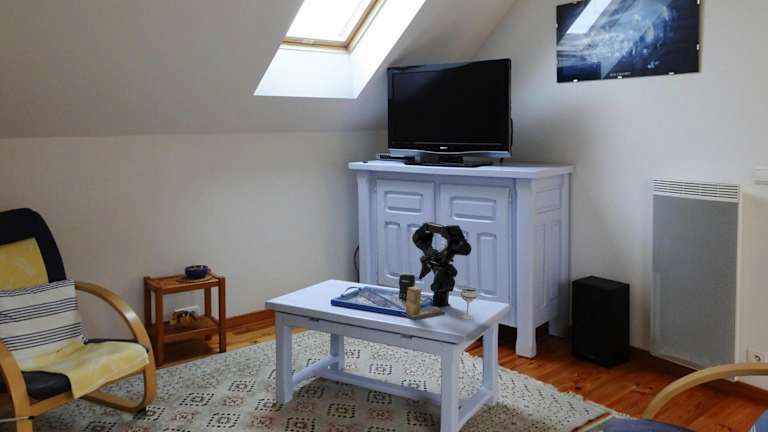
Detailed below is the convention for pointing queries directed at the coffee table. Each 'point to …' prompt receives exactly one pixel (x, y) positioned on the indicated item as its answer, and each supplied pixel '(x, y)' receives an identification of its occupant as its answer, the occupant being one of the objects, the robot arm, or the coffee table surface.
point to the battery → (405, 284)
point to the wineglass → (468, 298)
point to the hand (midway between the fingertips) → (426, 281)
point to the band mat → (426, 313)
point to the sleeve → (413, 300)
